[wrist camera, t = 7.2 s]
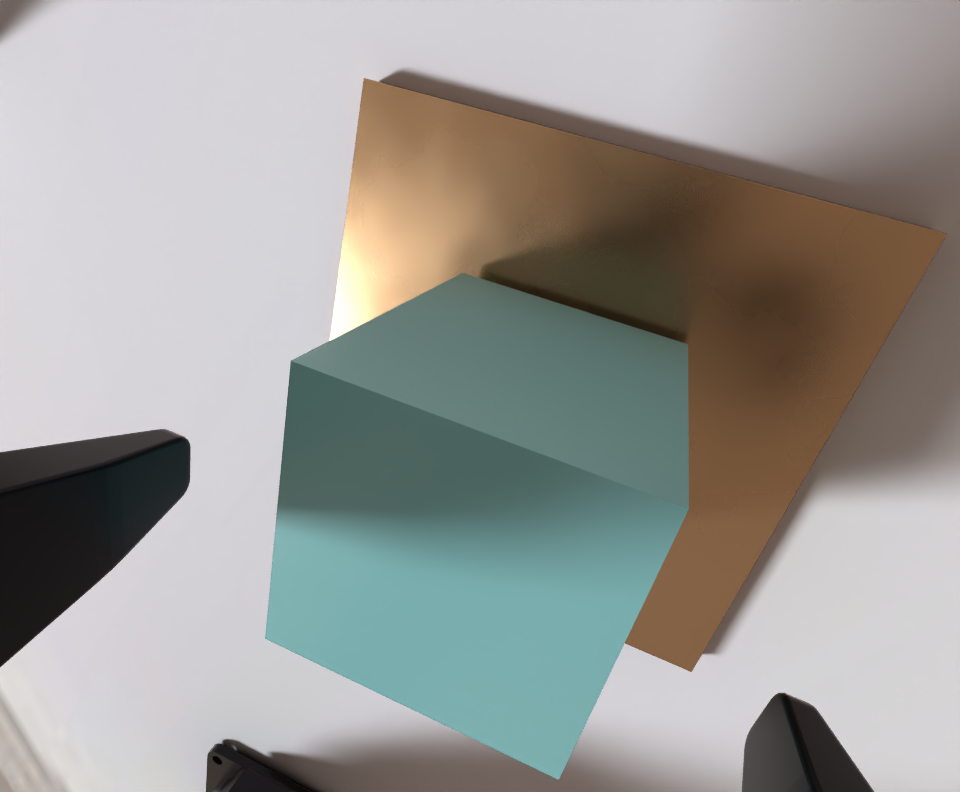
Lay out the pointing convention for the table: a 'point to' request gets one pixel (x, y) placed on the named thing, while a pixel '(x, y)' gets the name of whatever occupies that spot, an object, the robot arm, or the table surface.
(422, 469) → the teal rectangular block
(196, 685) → the table surface
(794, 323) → the brown square base plate
